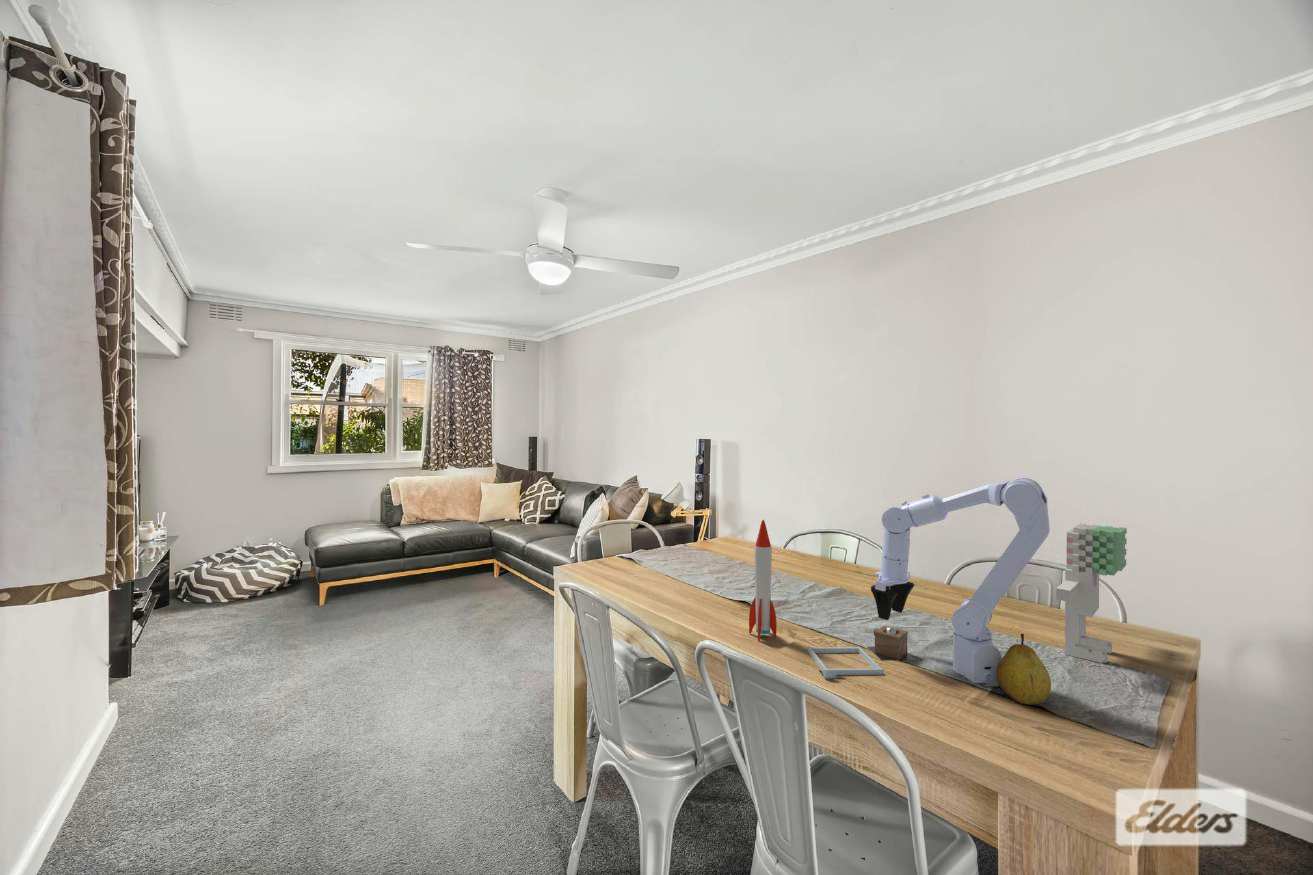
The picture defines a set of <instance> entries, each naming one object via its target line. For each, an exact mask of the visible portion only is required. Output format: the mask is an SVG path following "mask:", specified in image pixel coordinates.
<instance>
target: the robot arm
mask: <svg viewBox="0 0 1313 875" xmlns="http://www.w3.org/2000/svg"><path fill="white" fill-rule="evenodd" d="M900 504H901V505H897V506H891V507H890V508H887V509H886V510H884V512H883V514H882V515H881V523H882V526H883V527H884V529H883V537H882V548H881V560H880V562H881V563H880V571H876V572H875V574H874V576H875V577H878V578H877V580H876V581H875V584H874V585H871V586H870V591H871V593H872V595H873V597H874V601H875V604H876V605H875V606H876V610H877V616H878V618H879V619H882V620H884V621H889V619H890V617H891V615H892V611H893V612H897V613H900V614H901V613H903V611H904V608H905V605H906V602H907V599H908V597H909V595H910V593H911V592H912V590H913V588H914V587H915V583H914V582H910V578H911V572H910V571H908V570H909V569H908V568H909V558H910V557H909V555H910V545H911V539H910V538H911V537H910V536H911V528H913V527H914V528H918V527H923V526H925V525H930V524H934V523H937V522H941V521H944V520H945V519H946V518H947V515H948V514H949V513H950V512H953V511H958V510H962V509H966V508H971V507H973V506H979V505H982V504H989V505H994V506H997V507H1001V506H1003V504H1004V505H1005V507H1006V508H1007V510H1009V511H1010V512H1011V513H1012V515H1013V516H1014V520H1015V522H1016V524H1017V526H1018V529H1019V530H1018V532H1017V533H1016V534H1015V536H1014V538H1013V539H1012V540H1011V541H1010V543H1009V544H1008V546H1006V548H1005V549H1004V550H1003V553H1002V554H1001V556H1000V557H999V558H998V560H997V561H996V563H995V564H994V565H993V566H992V568H991V570H990V571H989V572H988V574H987V575H986V577H985V578H984V579H983V581H982V582H981V584H980V585H979V586H978V588H977V589H976V590H975V592H974V594H973V595H972V596H971V597H969V598H966V599H964V600H963V601H962V602H961V603H960V604H959V607H958V608H957V609H956V610H955V611H954V612H953V614H952V616H951V623H952V626H953V628H952V669H953V671H954V672H955V673H957V674H958V675H962V676H963V677H965V678H966V679H968V680H969V682H971V683H974V684H985V685H984V687H1000V685H999V683H998V681H997V676H996V671H997V667H998V665H999V663H1000V661H1001V659H1002V658H1003V656H1002V653H1001V651H1000V650H999V648H998V647H996V646H995V644H994V642H993V638H992V636H993V635H992V632H991V631H990V629H989V628H988V627H987V626H988V625H990V623H991V621H992V618H993V611H994V610H995V608H996V607H997V606H998V604H999V602H1000V601H1001V600H1002V599H1003V597H1004V596H1005V594H1007V592H1008V591H1009V590H1010V588H1011V587H1012V586H1013V584H1014V582H1015V581H1016V580H1017V579H1018V577H1019V575H1020V574H1021V573H1022V571H1023V570H1024V569H1025V567H1026V566H1027V565H1028V564H1029V562H1030V561H1031V559H1032V558H1033V556H1034V555H1036V553H1037V552H1038V549H1039V548H1040V547H1041V546H1042V544H1044V542H1045V540H1046V539H1047V538H1048V536H1049V533H1050V531H1051V530H1050V529H1051V527H1050V520H1049V519H1050V518H1049V506H1048V498H1047V496H1046V494H1045V492H1044V490H1043V488H1042V487H1041V486H1040V484H1039V483H1038V482H1037V481H1036V480H1033V479H1031V478H1029V477H1028V478H1027V477H1020V478H1016V479H1014V480H1013V481H1011V480H1005V481H1000V482H993V483H989V484H985V485H981V486H979V487H975V488H971V489H970V490H966V491H963V492H960V493H957V494H954V495H951V496H947V497H944V498H943V497H941V496H938V495H936V494H933V495H930V494H929V493H927V494H923V495H921V498H919V499H916V500H913V501H910V502H908V501H902V502H901V503H900Z"/></svg>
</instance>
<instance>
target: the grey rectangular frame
mask: <svg viewBox="0 0 1313 875" xmlns="http://www.w3.org/2000/svg"><path fill="white" fill-rule="evenodd" d="M807 649H808V650H807V651H808V654H809V655H810V657H811V658H812V659H813V660H814V662H815V663H816V665H817V666H818V667H819V668H820V669H818V672H819V673H820V674H821V675H822V677H823V679H824V680H847V678H846V677H842V676H846V675H847V676H853V675H855V676H861V675H862V676H863V675H874V676H875V675H883V668H882V667H880V666H879V664H878V663H877V662H876V661H875V660H874V659H873V658H871V656H870V655H868V653H867V652H865V651H864V650H863V649H862V648H861V646H857V647H855V646H851V647H850V646H846V647H844V646H843V647H840V646H839V647H838V646H837V647H833V646H831V647H825V646H824V647H808V648H807ZM849 653H850V654H856V653H857V654H859V655H860V656H861V658H863V659H864V660H865V661H866V662H867V663H868V665H870V667H871V668H827V666H826V665H825V664H824V662H823V661H822V660H821V659H820V657H819V656H818V655H817V654H849Z"/></svg>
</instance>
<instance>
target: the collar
mask: <svg viewBox="0 0 1313 875" xmlns="http://www.w3.org/2000/svg"><path fill="white" fill-rule="evenodd" d="M887 627H888V626H887V625H883V626H882V627H880V628H875V629H874V630H873V636H874V646H875V653H876V654H880V655H883V656H887V657H890V658H894V659H898V660H897V661H900V660H899V659H900V658H902V657H903V656H904V655H905V654H907V652H908V631H906V630H903V629H899V628H896V635H894V634H889V633H886V629H887Z"/></svg>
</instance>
